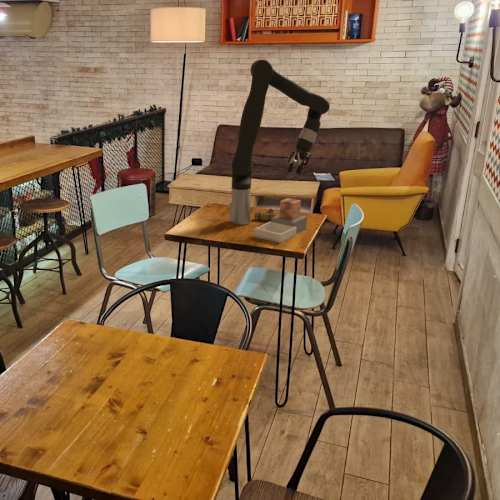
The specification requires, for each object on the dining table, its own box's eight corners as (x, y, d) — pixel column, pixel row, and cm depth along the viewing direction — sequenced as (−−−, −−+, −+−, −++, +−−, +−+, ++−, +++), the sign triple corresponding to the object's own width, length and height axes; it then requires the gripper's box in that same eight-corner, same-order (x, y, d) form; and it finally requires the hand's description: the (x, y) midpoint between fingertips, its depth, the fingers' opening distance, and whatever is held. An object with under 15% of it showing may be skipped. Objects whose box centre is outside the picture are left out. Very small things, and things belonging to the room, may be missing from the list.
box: (253, 237, 213) (253, 228, 212) (269, 229, 224) (270, 221, 223) (280, 243, 206) (281, 234, 204) (296, 235, 217) (296, 227, 216)
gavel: (263, 204, 255) (281, 206, 253) (262, 213, 257) (281, 214, 255) (254, 212, 236) (274, 214, 234) (254, 221, 237) (273, 223, 235)
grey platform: (271, 230, 224) (272, 217, 221) (284, 224, 233) (284, 212, 231) (294, 235, 217) (294, 222, 215) (306, 228, 227) (307, 216, 225)
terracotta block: (279, 217, 222) (280, 200, 219) (286, 214, 228) (287, 198, 225) (292, 220, 219) (293, 203, 216) (299, 216, 224) (300, 200, 221)
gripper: (292, 136, 224) (279, 169, 225) (307, 137, 212) (294, 171, 213) (304, 143, 228) (292, 175, 229) (320, 144, 215) (307, 177, 216)
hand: (293, 173), depth 221 cm, fingers open, 8 cm apart
